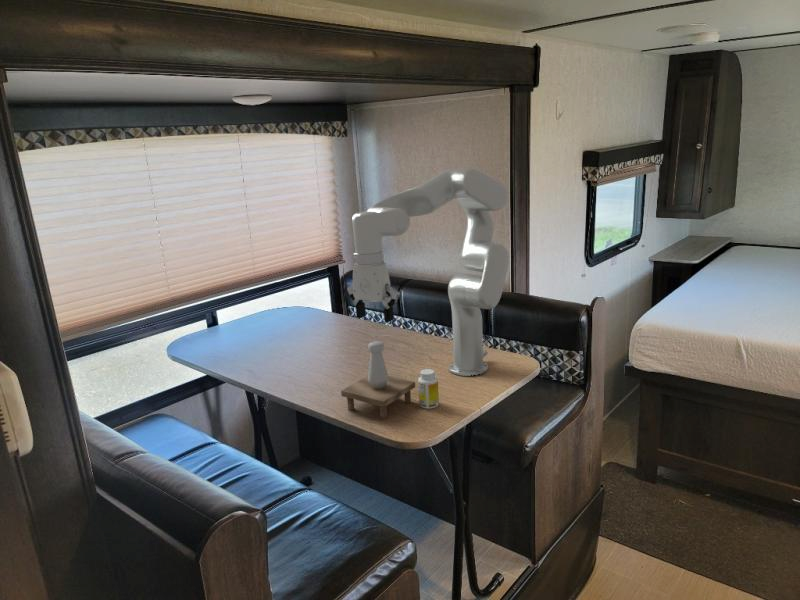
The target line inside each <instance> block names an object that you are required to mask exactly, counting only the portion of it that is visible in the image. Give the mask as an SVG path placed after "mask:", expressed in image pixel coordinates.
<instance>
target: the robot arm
mask: <svg viewBox="0 0 800 600" xmlns="http://www.w3.org/2000/svg"><path fill="white" fill-rule="evenodd" d="M455 199H457V201H458V203H459V205H460V207H461V208H462V210H463V212H464V214H465V218H466V228H465V235H464V238H463V242H462V247H461V251H460V256H459V257H460V258H459V261H460V265H461V266H462V267H463V268H464V269H466V270H469V271H473V272H478V273H479V272H480V273H482V275H475V274H468V273H460V274H459V273H458V274H456V275H454V276H453V277H452V278H450V280H449V281H448V282H449V283H448V285H447V294H448V298H449V303H450V307H451V321H452V349H453V350H452V351H453V355H452V356H453V362H451V363H449V365H448V370H449V372H450V373H452V374H453V375H456V376H460V377H462V376H463V377H474V376H473V375H476V376H479V375H478V374H480V375H483V374H485V373H486V372H487V371H488V369H489V366H488V363H487V362H485V361H484V357H487V355H488V351H487V350H486V349H484V347H483V345H484V344H483V343H484V342H483V341H484V340H483V334H484V333H483V316H482V310H481V309H484V310H491V309H493V308H496V306H497V305H498V304H499V302H500V299H501V298H502V294H503V291H504V286H505V283H506V282H505V281H506V278H507V273H508V269H509V264H510V257H509V256H510V255H509V252H508V249H507V247H505V246H504V245H503V244H501V243H499V242H492V241H493V236H494V229H495V227H494V226H495V225H494V224H495V223H494V220H493V216H492V215H491V213H490V212H497V211H498V212H499V211H501V210H502V209H504V208H505V207H506V205H507V204H508V200H509V193H508V189H507V187H506V186H505V185H504V183H502V182H500V181H499V180H497V179H495V178H493V177H491V176H489V175H488V174H486V173H484V172H483V171H480V170H478V169H476V168H469V167H467V168H465V167H464V168H463V167H462V168H459V167H458V168H455V167H454V168H448V169H446V170H444V171H442V172H440V173H438V174H437V175H435V176H433V177H431V178H429V179H428V180H426V181H425V182H423V183H421V184H420V185H417V186H415V187H413V188H409V189H406V190H404V191H402V192H398V193H396V194H393V195H391V196H388V197H386V198H384V199H382V200H380V201H379V202H377V203H375V204H373V205H372V206H369V208H368V209H367V210H365V211H360V212H355V213H354V214H353V215H352V219H351V222H352V223H351V224H352V232H353V234H352V235H353V245H354V253H353V255H352V257H353V258H355V263H353V269H352V284H351V285H349V286H347V288H346V289H347V290H346V291H347V293H348V294H349V297H350V299H351V300H352V302H353V305H355V310H356V311H355V312H356V319H362V318H364V317H366V314H367V313H366V304H365V302H373V303H380V302H381V303H382V305H383V306H384V308H383V317H384V322H385V324H388V323H390V322H392V321H394V318H395V317H394V306H395V305H396V304H397V303H398V301H399V300H398V299H399V298H400V296H401V293H400V291H398V290H397V289H395V288H394V287H392V286H391V279H390V274H389V269H388V266H387V262H385V258H384V244H383V238H384V237H399V236H401V235H405V233H407V231H408V230H409V228H410V226H411V217H412V218H413V217H420V216H426V215H428V214H429V215H430V214H432V213H434V212H437V210H439V209H441V208H442V207H444V206H445V205H447V204H448V203H450V202H452V201H453V200H455ZM364 301H365V302H364ZM484 372H485V373H484ZM482 373H483V374H482ZM471 375H472V376H471Z"/></svg>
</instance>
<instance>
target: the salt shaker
mask: <svg viewBox="0 0 800 600" xmlns="http://www.w3.org/2000/svg"><path fill="white" fill-rule="evenodd" d="M367 347H368V351H369V354H370V355H369V366H368V374H367V376H368V381H369V383H370V385H371V387H373V388H374V389H381V388H384V387H385V386H386V383H387V381H388V378H389V377H388V376H389V374H388V370H387V367H386V363H385V359H384V356H383V351H384V350H385V349H384V348H385V346H384V343H383V342H382V341H372V342H370V343H368V346H367Z"/></svg>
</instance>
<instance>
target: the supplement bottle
mask: <svg viewBox="0 0 800 600" xmlns="http://www.w3.org/2000/svg"><path fill="white" fill-rule="evenodd" d="M417 383H418V384H417V385H418V400H419V402H418V403H419V406H420V407H421V408H423V409H426V410H428V409H429V410H431V409H435V408H437V407H438V406H439V404H440V399H439V398H440V397H439V379H438V377H437V376H436V373H435V370H434V369H431V368H425V369H422V370H420V377H418V380H417Z"/></svg>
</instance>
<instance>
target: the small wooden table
mask: <svg viewBox="0 0 800 600" xmlns="http://www.w3.org/2000/svg"><path fill="white" fill-rule="evenodd" d="M388 377H389V378H388V381H387V383H386V386H385V387H384V388H381V389H374V388H373V387H371V385H370V383H369V381H368V375H367V376H365V377H363V378H362V379H359V380H358V381H357V382H354V383H352V384H351V385H349V386H347V387H345V388H344V389H341V390H340V394H341V397H345V398H346V400H347V401H346V402H347V403H346V404H347V410H348V411H354V410H355V400H356V401H359V402H364V403H366V404H370V405H375V406H378V407H379V417H380V420H382V421H384V420H387V419H388V414H387V412H388V409H387V406H388V405H389V404H392V403H393V402H394V401H396V400H397V399H399V398H400V397H402V396H404V397H403V398H404V403H405V404H411V403H412V396H411V391H412V390H413V389H415V388H416V381H413V380H408V379H403V378H399V377H394V376H392V375H391V376H390V375H388Z"/></svg>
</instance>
